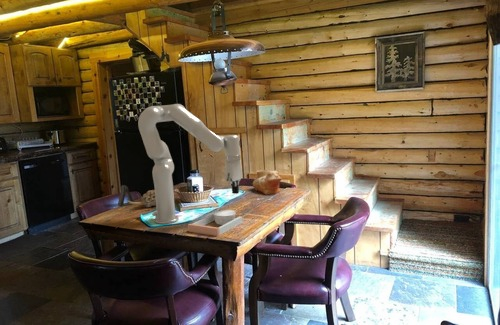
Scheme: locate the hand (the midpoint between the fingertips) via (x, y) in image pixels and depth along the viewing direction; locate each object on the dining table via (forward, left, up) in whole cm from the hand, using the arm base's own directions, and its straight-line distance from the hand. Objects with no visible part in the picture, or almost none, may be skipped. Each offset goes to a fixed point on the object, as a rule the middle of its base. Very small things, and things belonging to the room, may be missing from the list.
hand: (235, 193), depth 210 cm
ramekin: (0, -11, -13) cm, 17 cm away
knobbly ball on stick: (-61, -4, -13) cm, 63 cm away
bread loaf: (-11, +59, -13) cm, 61 cm away
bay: (0, -19, -13) cm, 23 cm away
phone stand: (-79, -3, -13) cm, 80 cm away
